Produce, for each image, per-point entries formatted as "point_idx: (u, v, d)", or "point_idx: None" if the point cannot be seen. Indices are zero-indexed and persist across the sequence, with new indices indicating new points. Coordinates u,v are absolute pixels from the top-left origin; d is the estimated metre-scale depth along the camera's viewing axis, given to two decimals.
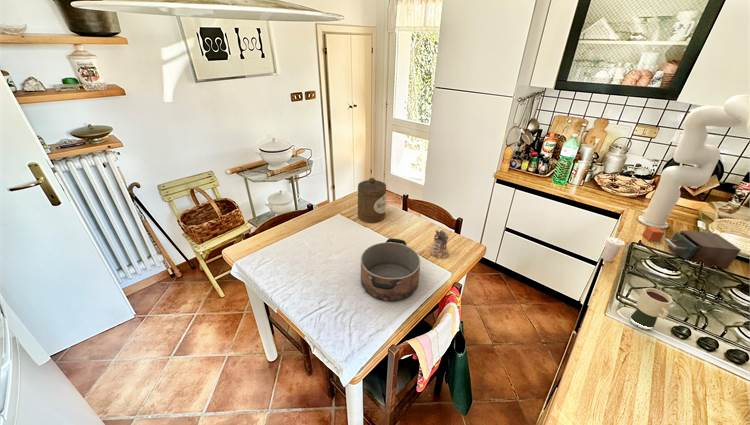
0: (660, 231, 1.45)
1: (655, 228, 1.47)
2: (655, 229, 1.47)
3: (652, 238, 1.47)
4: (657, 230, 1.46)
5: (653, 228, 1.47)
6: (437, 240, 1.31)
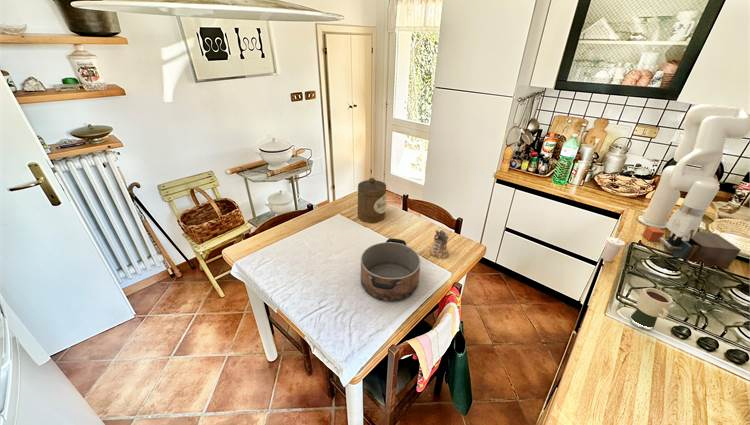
0: (660, 231, 1.45)
1: (655, 228, 1.47)
2: (655, 229, 1.47)
3: (652, 238, 1.47)
4: (657, 230, 1.46)
5: (653, 228, 1.47)
6: (437, 240, 1.31)
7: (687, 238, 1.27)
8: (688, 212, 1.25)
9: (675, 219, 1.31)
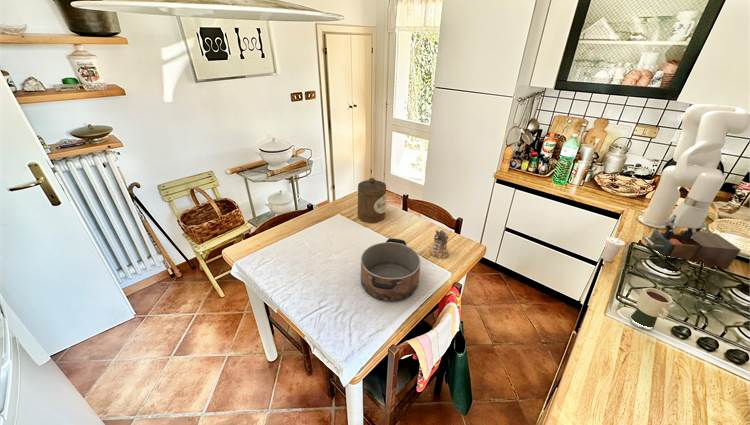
0: (679, 243, 1.32)
1: (673, 240, 1.35)
2: (673, 241, 1.34)
3: (670, 251, 1.34)
4: (675, 242, 1.33)
5: (671, 240, 1.35)
6: (437, 240, 1.31)
7: (666, 220, 1.30)
8: (685, 199, 1.28)
9: None
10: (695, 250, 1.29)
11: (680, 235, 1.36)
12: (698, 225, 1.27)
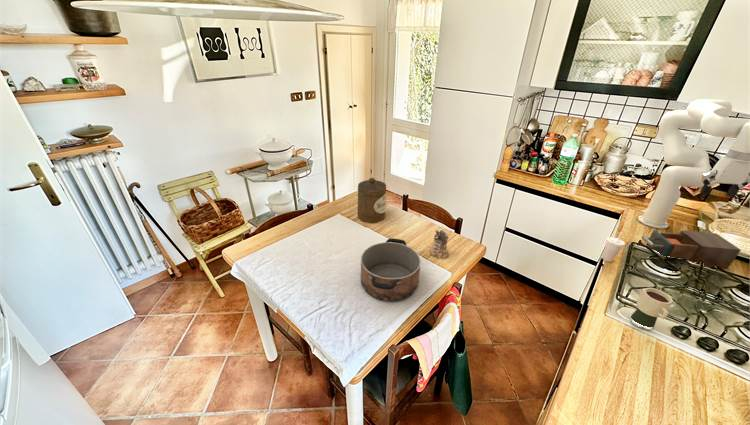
0: (678, 243, 1.33)
1: (672, 240, 1.35)
2: (672, 241, 1.34)
3: None
4: (675, 242, 1.33)
5: (670, 240, 1.35)
6: (437, 240, 1.31)
7: (707, 173, 1.24)
8: (727, 153, 1.21)
9: None
10: (695, 250, 1.29)
11: (679, 235, 1.36)
12: (741, 180, 1.21)
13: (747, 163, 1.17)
